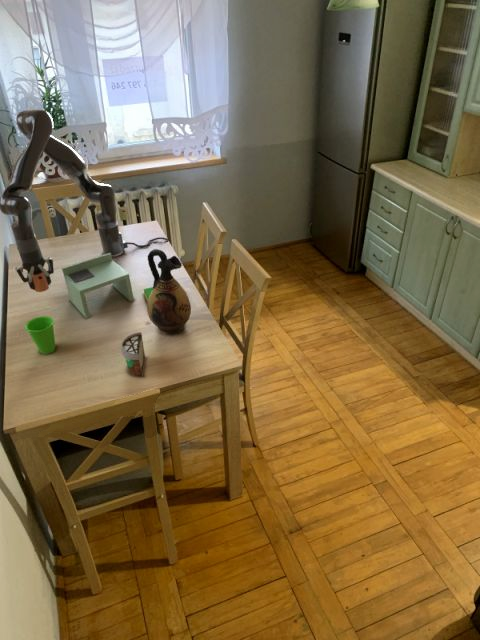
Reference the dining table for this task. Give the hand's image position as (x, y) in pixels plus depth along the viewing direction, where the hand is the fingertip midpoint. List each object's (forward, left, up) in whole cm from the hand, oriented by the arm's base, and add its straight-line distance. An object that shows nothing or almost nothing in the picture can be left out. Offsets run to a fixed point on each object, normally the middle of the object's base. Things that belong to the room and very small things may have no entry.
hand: (41, 286), depth 184 cm
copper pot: (0, 0, -1) cm, 1 cm away
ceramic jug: (-30, +48, -7) cm, 57 cm away
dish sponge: (-35, +29, -7) cm, 46 cm away
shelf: (-18, +15, -7) cm, 24 cm away
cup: (+10, +33, -7) cm, 35 cm away
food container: (-9, +61, -7) cm, 62 cm away
